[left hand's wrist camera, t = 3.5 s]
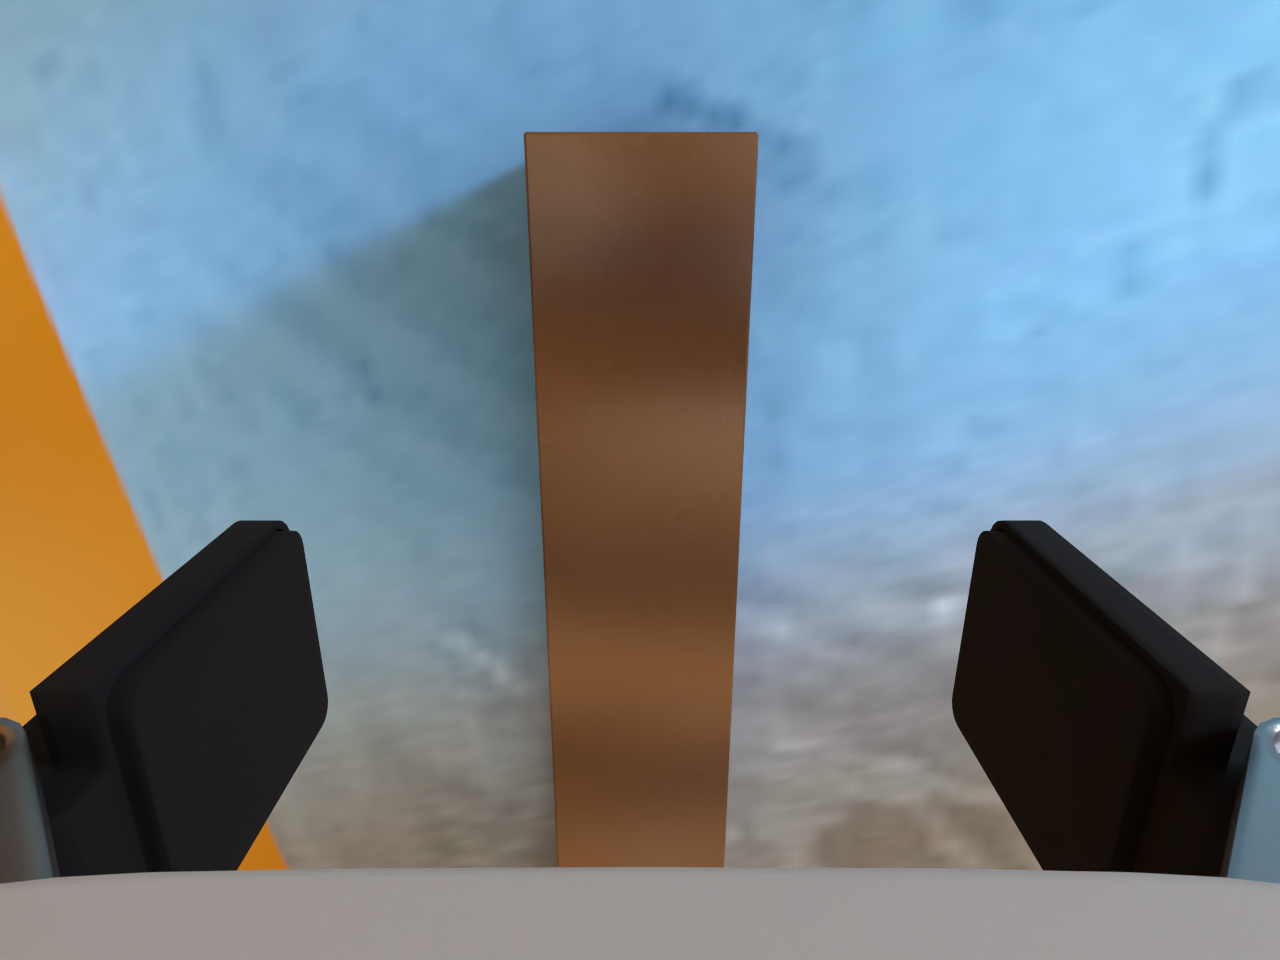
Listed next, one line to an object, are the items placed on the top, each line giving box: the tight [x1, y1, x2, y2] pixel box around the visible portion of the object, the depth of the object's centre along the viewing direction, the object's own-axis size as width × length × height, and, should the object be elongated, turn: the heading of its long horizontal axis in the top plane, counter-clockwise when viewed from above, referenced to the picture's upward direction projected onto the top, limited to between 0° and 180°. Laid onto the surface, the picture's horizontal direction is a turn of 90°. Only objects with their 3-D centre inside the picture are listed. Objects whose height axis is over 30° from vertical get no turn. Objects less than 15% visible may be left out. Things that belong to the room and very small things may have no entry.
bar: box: [524, 132, 758, 867], centre depth 28 cm, size 50×5×6 cm, turn 0°
